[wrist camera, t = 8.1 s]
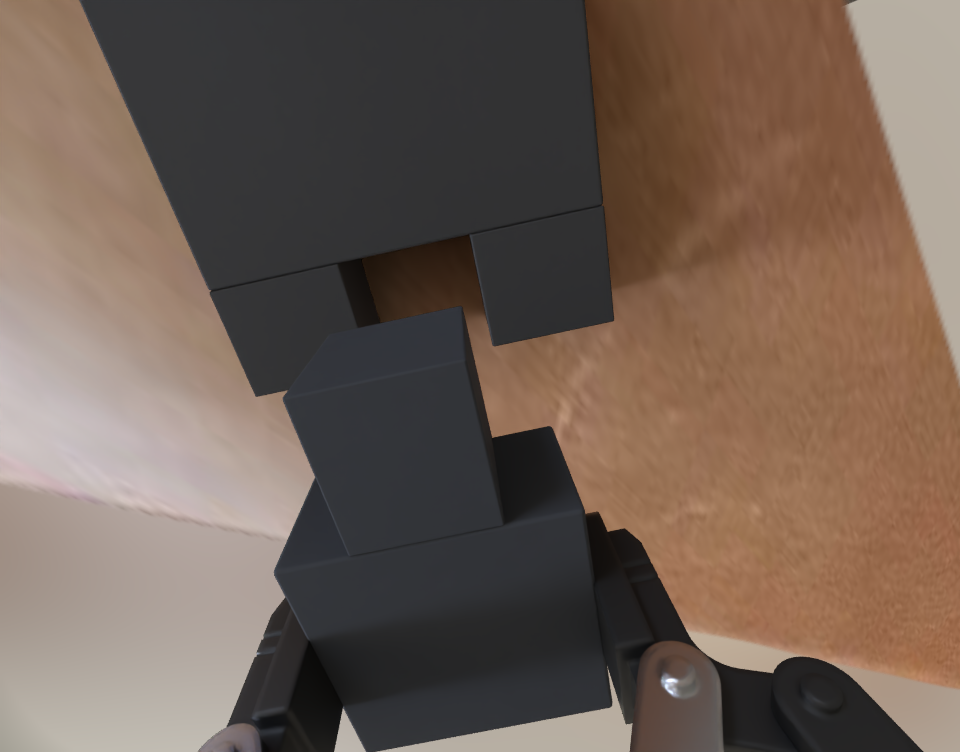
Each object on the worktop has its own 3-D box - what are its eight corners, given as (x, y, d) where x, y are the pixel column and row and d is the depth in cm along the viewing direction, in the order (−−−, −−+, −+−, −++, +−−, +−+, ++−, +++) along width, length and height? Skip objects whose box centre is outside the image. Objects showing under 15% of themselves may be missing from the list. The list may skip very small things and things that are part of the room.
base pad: (134, -15, 14) (48, -65, 11) (542, -114, 13) (568, -193, 10) (286, 361, 18) (255, 397, 16) (588, 297, 18) (614, 321, 15)
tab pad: (262, 348, 10) (189, 418, 7) (529, 290, 10) (560, 338, 7) (383, 634, 14) (366, 755, 11) (579, 596, 14) (613, 708, 11)
